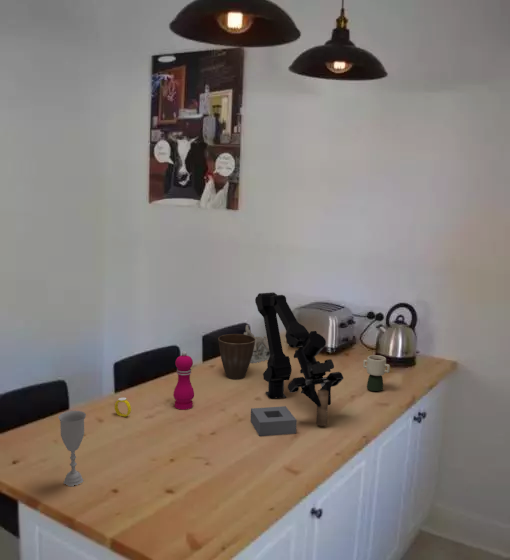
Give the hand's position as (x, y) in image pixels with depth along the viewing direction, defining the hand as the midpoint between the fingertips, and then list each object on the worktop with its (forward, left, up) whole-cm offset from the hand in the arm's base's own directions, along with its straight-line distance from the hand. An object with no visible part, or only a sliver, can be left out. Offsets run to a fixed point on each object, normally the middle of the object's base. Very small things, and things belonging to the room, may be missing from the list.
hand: (324, 405), depth 197 cm
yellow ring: (-21, -63, -8) cm, 67 cm away
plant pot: (-55, -17, -8) cm, 59 cm away
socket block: (-3, -16, -8) cm, 18 cm away
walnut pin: (-1, 0, -7) cm, 7 cm away
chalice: (+22, -77, -8) cm, 81 cm away
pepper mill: (-26, -42, -8) cm, 50 cm away
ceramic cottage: (-79, -3, -8) cm, 80 cm away
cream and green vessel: (-31, +33, -8) cm, 46 cm away
